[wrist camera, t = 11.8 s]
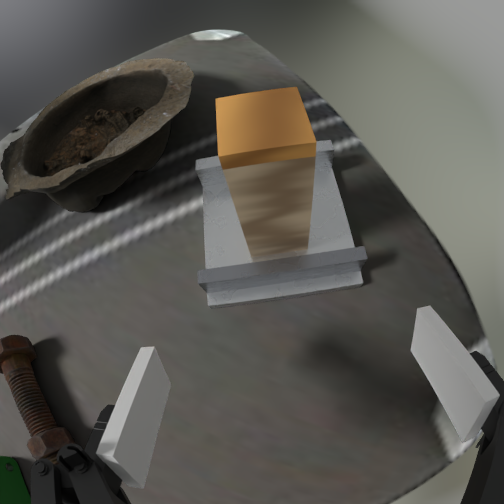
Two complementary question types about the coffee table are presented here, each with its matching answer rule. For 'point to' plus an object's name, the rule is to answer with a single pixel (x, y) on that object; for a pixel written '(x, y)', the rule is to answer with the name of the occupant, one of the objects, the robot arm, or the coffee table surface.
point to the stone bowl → (98, 133)
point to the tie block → (268, 167)
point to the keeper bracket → (283, 264)
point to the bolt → (31, 398)
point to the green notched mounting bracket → (12, 483)
